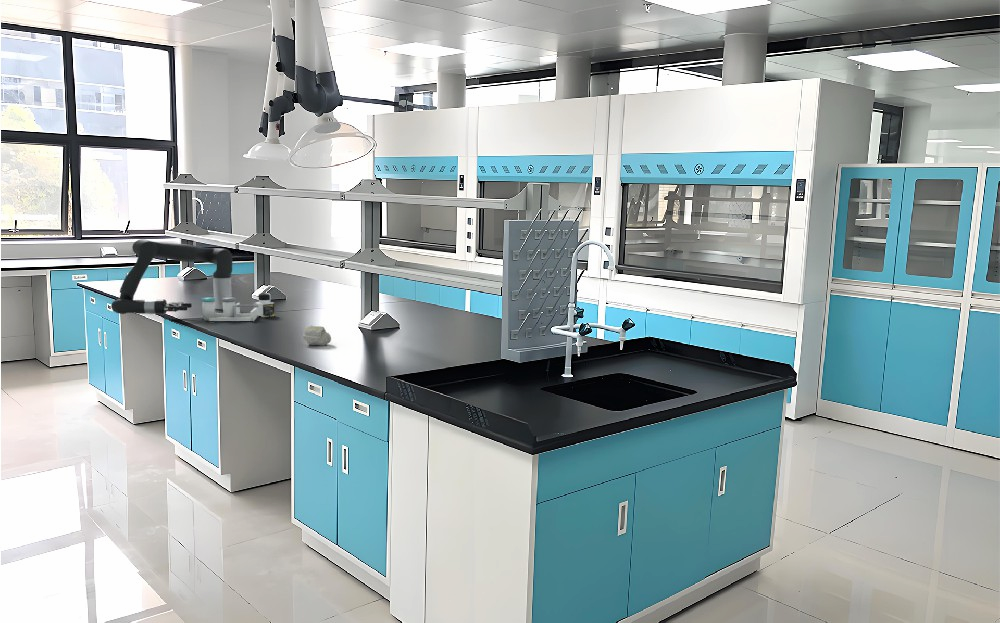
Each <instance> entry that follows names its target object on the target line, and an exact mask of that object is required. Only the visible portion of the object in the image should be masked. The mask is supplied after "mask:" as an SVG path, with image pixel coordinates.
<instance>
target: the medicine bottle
mask: <svg viewBox="0 0 1000 623" xmlns="http://www.w3.org/2000/svg"><path fill="white" fill-rule="evenodd" d="M271 298H272V297H271V294H270V293H267V292H265V293H264V292H261V293H259V294H258V301H257V302H256V301H255V303H254V305H258V307H254V308H257V317H259V316H261V317H260V318H267V317H268V318H270V317H274V316H275V302H272V301H271ZM269 316H270V317H269Z"/></svg>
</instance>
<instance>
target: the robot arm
mask: <svg viewBox="0 0 1000 623" xmlns="http://www.w3.org/2000/svg"><path fill="white" fill-rule="evenodd" d="M131 247H132V248H131V249H132V252H133V253H134V254H135V255H136V256H137V260H136V262H135V264H134V265H133V267H132V268H131V269H130V270H129V272H128V273H127V274H126V276H125V278H124V279H123V281H122V284H121V286H120V289H119V293H120V294H119V298H118V299H115V300H113V301H112V303H111V305H110V307H111V310H112V311H113V312H114V313H116V314H120V315H126V314H128V313H129V314H132V313H133V314H138V315H139V314H140V315H142V314H143V315H144V314H146V315H165V314H167V313H168V312H175V313H176V312H178V311H188V309H189V308H192V303H191V302H188V303H187V302H183V301H179V302H178V301H177V302H175V301H173V302H167V300H166V299H162V298H161V299H155V298H153V299H151V298H150V299H134V297H135V295H136V292H137V290H138V287H139V284H140V282H141V280H142V279H143V276H144V274H145V273H146V271H147V269H148V267H149V266H150V264H151V263H152V261H153V260H154V258H155V257H159V258H164V259H167V260H173V261H177V262H183V263H184V262H186V263H194V262H195V263H196V262H205V263H210V264H213V265H216V269H215V271H214V272H213V273H212V280H213V285H212V286H213V297H214V298H215V310H223V302H222V298H226V297H232V272H233V255H232V253H231V251H230V250H229V249H228V248H220V247H217V248H216V247H215V248H214V247H213V248H211V247H210V248H208V247H207V248H206V247H200V246H196V245H192V244H186V243H185V244H184V243H175V242H174V243H173V242H169V243H168V242H157V241H152V240H148V239H144V238H143V239H142V238H141V239H137V240H136V241H134V242H133V244H132V246H131Z"/></svg>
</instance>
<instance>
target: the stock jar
mask: <svg viewBox="0 0 1000 623" xmlns="http://www.w3.org/2000/svg"><path fill="white" fill-rule="evenodd" d="M222 302H223V309H222V313H223V317H234V305H235V304H236V297H232V296H231V297H226V298H222Z"/></svg>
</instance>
